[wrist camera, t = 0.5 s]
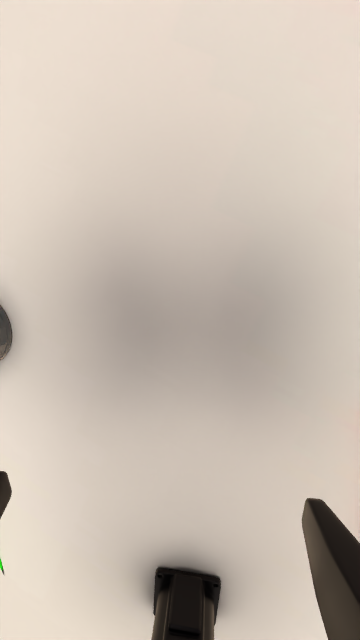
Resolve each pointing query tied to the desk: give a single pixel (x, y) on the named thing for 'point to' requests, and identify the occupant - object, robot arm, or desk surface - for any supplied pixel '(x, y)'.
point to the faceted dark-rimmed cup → (4, 334)
